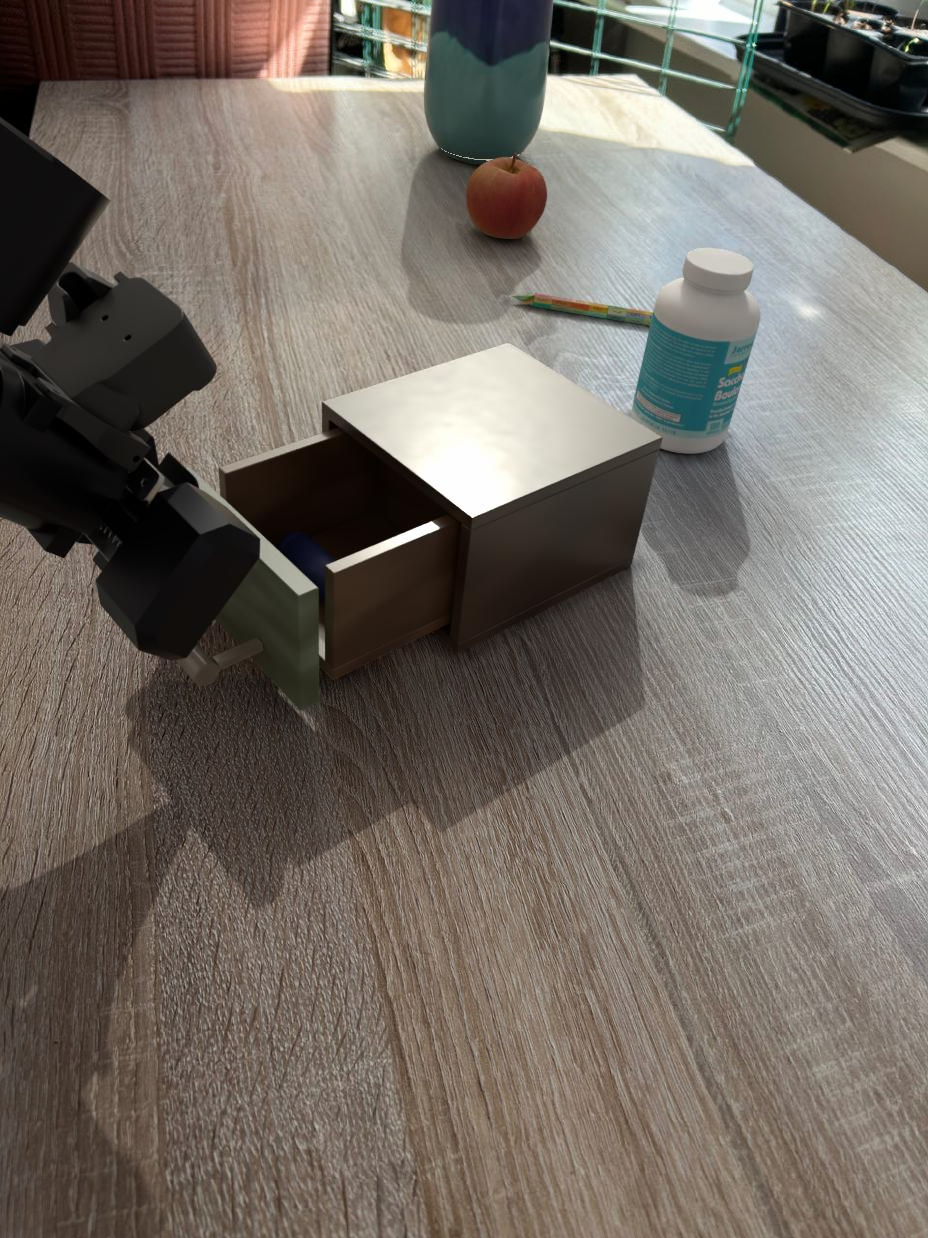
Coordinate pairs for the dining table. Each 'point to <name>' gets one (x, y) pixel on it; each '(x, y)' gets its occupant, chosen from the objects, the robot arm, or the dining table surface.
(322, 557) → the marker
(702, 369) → the pill bottle
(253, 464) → the drawer
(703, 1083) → the dining table surface
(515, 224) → the apple
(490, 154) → the vase
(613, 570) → the cabinet
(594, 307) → the pencil
